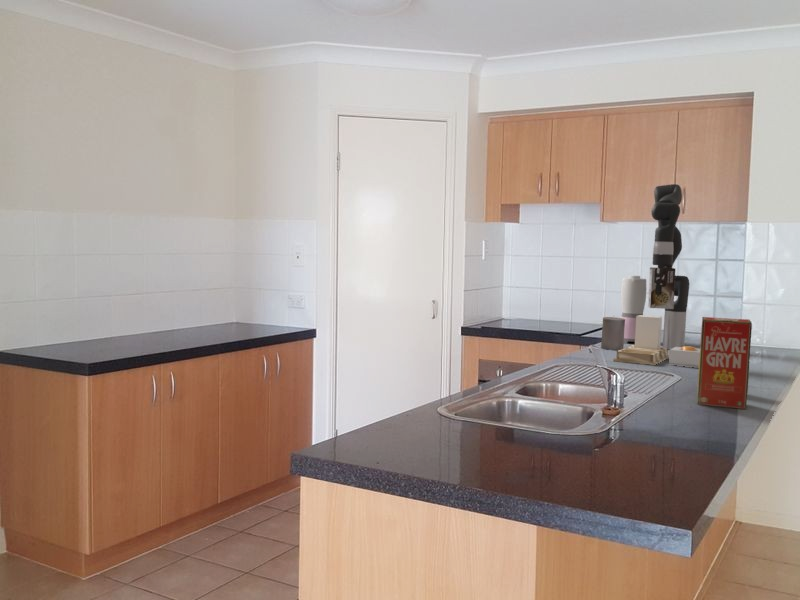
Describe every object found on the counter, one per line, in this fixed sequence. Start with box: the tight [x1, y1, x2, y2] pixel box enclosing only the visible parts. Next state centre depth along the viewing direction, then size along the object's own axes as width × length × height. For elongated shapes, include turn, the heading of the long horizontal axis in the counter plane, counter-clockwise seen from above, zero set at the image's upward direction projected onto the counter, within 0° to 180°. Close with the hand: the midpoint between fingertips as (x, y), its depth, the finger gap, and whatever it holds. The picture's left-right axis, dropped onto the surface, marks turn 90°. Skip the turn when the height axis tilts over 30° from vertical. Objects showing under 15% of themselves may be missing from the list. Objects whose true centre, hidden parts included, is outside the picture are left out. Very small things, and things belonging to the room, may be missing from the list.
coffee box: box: [647, 267, 676, 310], centre depth 300 cm, size 9×6×16 cm
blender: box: [620, 274, 647, 344], centre depth 361 cm, size 16×12×32 cm
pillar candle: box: [600, 316, 625, 351], centre depth 335 cm, size 10×10×15 cm
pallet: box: [613, 344, 669, 366], centre depth 306 cm, size 27×16×4 cm, turn 149°
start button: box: [682, 345, 697, 351], centre depth 294 cm, size 5×5×5 cm
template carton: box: [634, 314, 663, 350], centre depth 311 cm, size 6×9×16 cm, turn 59°
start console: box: [668, 347, 700, 369], centre depth 294 cm, size 12×12×6 cm
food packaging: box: [696, 316, 753, 410], centre depth 219 cm, size 13×9×25 cm
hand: (660, 294), depth 300 cm, fingers closed on coffee box, 8 cm apart
